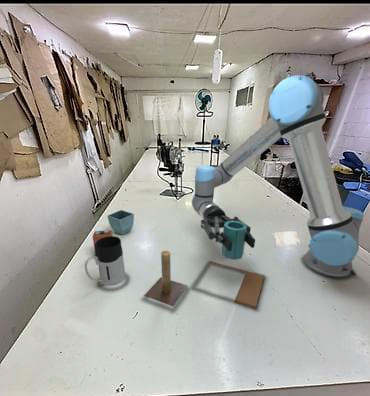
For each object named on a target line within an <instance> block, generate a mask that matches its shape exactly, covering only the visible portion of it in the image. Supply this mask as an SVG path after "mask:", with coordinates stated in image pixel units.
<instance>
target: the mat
mask: <svg viewBox="0 0 370 396" xmlns="http://www.w3.org/2000/svg"><path fill="white" fill-rule="evenodd" d="M208 263H209V264H211V265H215V266H219V267H223V268H227V269H230V270H234V271H238V272H242V273H245V274H244V276H243V279H242V281H241V284H240V287H239V289H238V291H237V294H236V296H235V299H234V301H233V302H234V303H236V304H239V305H242V306H246V307H248V308H251V309H254V310H256V309H257V305H258V301H259V299H260V294H261V290H262V287H263V283H264V279H265V274H262V273H261V274H260V273H257V272H254V271H253V272H252V271H249V270H245V269H242V268H238V267H234V266H230V265H227V264H223V263H220V262H216V261H211V260H209V261H208Z"/></svg>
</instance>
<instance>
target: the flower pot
mask: <svg viewBox="0 0 370 396" xmlns="http://www.w3.org/2000/svg"><path fill="white" fill-rule="evenodd" d="M106 217H107V220H108V224H109V226H110V228H111V229H112V231H113V232H115V234H118V235H122V236H123V235H125V234H127V233H129V232H130V231H131V230H132V229H133V227H134V222H135V221H134V220H135V213H134V212H133V213H132V212H129V211H126V210H123V209H120V210H117V211H115V212H113V213H110V214H108V215H107V216H106Z"/></svg>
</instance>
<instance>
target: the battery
mask: <svg viewBox="0 0 370 396" xmlns="http://www.w3.org/2000/svg"><path fill="white" fill-rule="evenodd" d="M109 236H114V234H113V230H110V229H103V230H95V231H94V232H93V234H92V241H93V247H94V253H95V257H98V256H97V250H96V242H97V241H98V240H99V239H101V238H104V237H109Z"/></svg>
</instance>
